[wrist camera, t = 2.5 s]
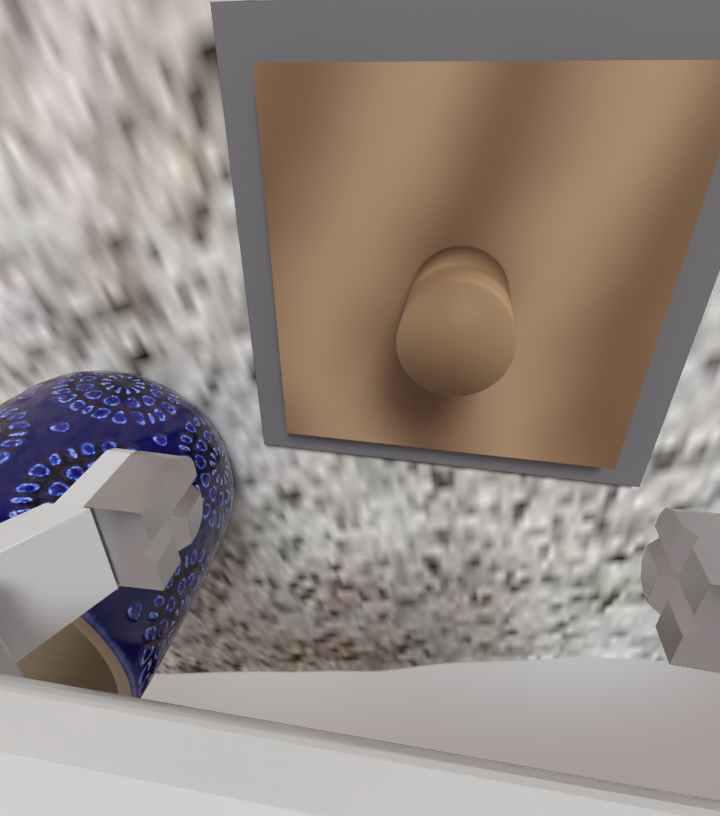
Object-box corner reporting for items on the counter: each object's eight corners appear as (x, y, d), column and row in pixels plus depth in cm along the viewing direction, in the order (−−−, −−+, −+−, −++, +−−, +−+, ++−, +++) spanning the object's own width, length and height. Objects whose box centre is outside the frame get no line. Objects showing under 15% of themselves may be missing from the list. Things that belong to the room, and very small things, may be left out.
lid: (734, 60, 14) (842, 55, 10) (609, 453, 21) (642, 547, 17) (264, 62, 16) (189, 59, 12) (293, 419, 23) (253, 496, 19)
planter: (10, 415, 27) (-239, 597, 17) (127, 291, 22) (-137, 455, 12) (171, 549, 30) (34, 762, 21) (305, 470, 25) (203, 704, 16)
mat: (815, -12, 13) (824, -14, 13) (637, 480, 22) (639, 487, 21) (216, 3, 16) (210, 1, 15) (267, 438, 24) (264, 443, 24)
